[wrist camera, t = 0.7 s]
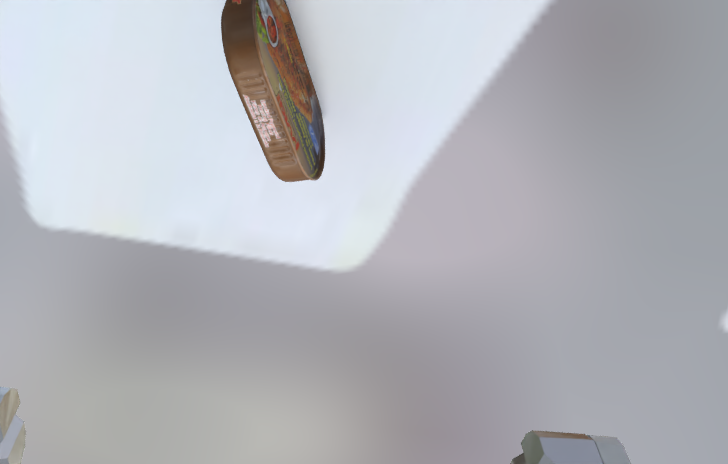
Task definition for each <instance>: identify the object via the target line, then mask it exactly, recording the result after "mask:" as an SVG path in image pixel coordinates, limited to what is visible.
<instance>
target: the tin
mask: <svg viewBox="0 0 728 464" xmlns="http://www.w3.org/2000/svg"><path fill="white" fill-rule="evenodd" d="M221 31H222V42H223V48H224V53H225V57H226V61H227V64H228V68H229V71H230V74H231V77H232V79H233V82H234V84H235V87H236V89H237V91H238V94H239V96H240V99H241V101H242V103H243V106H244V108H245V111H246V113H247V115H248V118H249V120H250V122H251V125H252V127H253V129H254V132H255V134H256V136H257V139H258V141H259V143H260V146H261V148H262V150H263V152H264V155H265V157H266V159H267V162H268V164H269V166H270V168H271V169H272V171H273V172H274V174H275V175H276V176H277V177H278V178H279V179H281V180H282V181H285V182H294V181H302V180H317V179H319V177H320V176H321V174H322V171H323V168H324V161H325V136H324V125H323V119H322V114H321V109H320V106H319V102H318V98H317V95H316V92H315V89H314V86H313V83H312V80H311V77H310V74H309V71H308V68H307V65H306V62H305V59H304V56H303V53H302V50H301V47H300V44H299V41H298V38H297V35H296V32H295V29H294V26H293V23H292V20H291V17H290V14H289V11H288V8H287V6H286V3H285V2H284V0H226V3H225V6H224V9H223V12H222V17H221Z"/></svg>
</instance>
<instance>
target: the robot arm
mask: <svg viewBox="0 0 728 464" xmlns="http://www.w3.org/2000/svg"><path fill="white" fill-rule="evenodd" d="M19 405H20V399H19V395H18V391H17V389H15V388H6V387H0V464H21V461H22V457H23V452H24V448H25V437H26V436H25V435H26V431H25V424H24V421H23V420H22V419H20V418H19V417H18V416H17V415H16V414H15V413H16V411H17V409H18V407H19ZM521 445H522V449H523V453H522V454H521V455H519V456H517V457H515V458H514V459H512V461H511V463H510V464H631V463H630V460H629V458H628V455H627V453H626V451H625V448H624V446H623V444H622V443H621V441H620V440H619V439H617V438H615V437H607V436H593V435H585V434H577V433H563V432H548V431H533V430H532V431H530V432H528V433H527V434H526V435H525V437H524V439H523V440H522V442H521Z"/></svg>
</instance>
